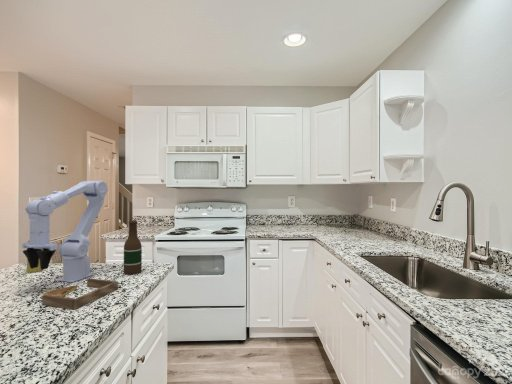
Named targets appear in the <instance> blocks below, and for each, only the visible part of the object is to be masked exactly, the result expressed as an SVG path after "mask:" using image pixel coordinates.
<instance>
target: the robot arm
mask: <svg viewBox="0 0 512 384" xmlns="http://www.w3.org/2000/svg"><path fill="white" fill-rule="evenodd" d="M108 191H109V189H108V185H107V183H106V182H105V180H102V179H101V180H87V179H86V180H83V181H80V182H78V184H75V185H73V186H72V187H70V188H68V189H66V190H64V191H61V190H54V191H51V193H50V194H48V195H46V196H41V197H40V198H39V199H34V200H33V199H32V200H31V201H30V202H28V204H27V206H26V207H25V212H26V214H28V219H29V240H30V242H28V241H27V242H22V243H21V248H22V249H24V250H22V253H23V255H25V257H26V260H27V259H28V262H29V265H30V268H36V267H38V264H39V259H40V267H41V270H42V271H44V270H46V269H48V268H49V266H50V263H51V260H52V258H53V256H54V254H55V252H56V251H57V250H58V254H59V255H60V256H61V259H63V260H62V261H63V262H62V274H63V275H62V277H61V278H58V279H57V281H58V282H67V283H74V282H77V281H79V280H82V279H87V278H88V277H90V276H92V275H93V274H91V259H90V257H89V256H88V255H87V254H88V253H89V246H90V244H91V242H90V239H89V238H88V236H89V234H90V232H91V230H92V228H93V226H94V224H95V221H97V218H98V215H99V214H100V212H101V210H102V207H103V206H104V202H105V197H106V195H107V193H108ZM81 194H83V196H84V197H85V198H86V199H85V200H87V201H88V204H87V206H86V208H85V210H84V212H83V214H82V215H81V218H80V219H79V222H78V223H77V226H76V227H75V230H74V231H73V233H72V234H70V235H69V236H66V238H65V239H64V241H63V242H62V243H61V244H60V245H59V248H58V244H57V243H52V242H50V221H51V220H50V219H51V218H50V217H51V216H50V215H52V214H53V212H54V210H56V209H57V208H60V207H62V206H64V205H65V204H67V203H68V202H69V199H72V198H73V197H76V196H78V195H81Z"/></svg>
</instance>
